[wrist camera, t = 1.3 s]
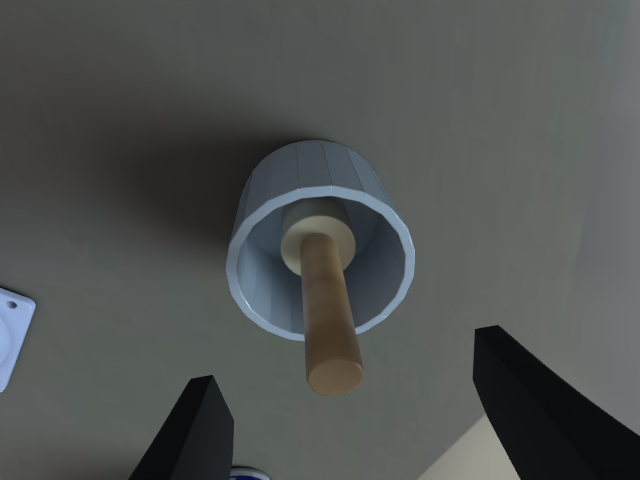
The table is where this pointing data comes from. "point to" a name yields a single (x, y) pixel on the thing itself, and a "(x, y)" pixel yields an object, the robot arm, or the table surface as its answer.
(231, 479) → the energy drink
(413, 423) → the table surface
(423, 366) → the table surface
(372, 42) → the table surface
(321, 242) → the brush
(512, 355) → the robot arm
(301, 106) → the table surface
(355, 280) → the blue pencil cup
